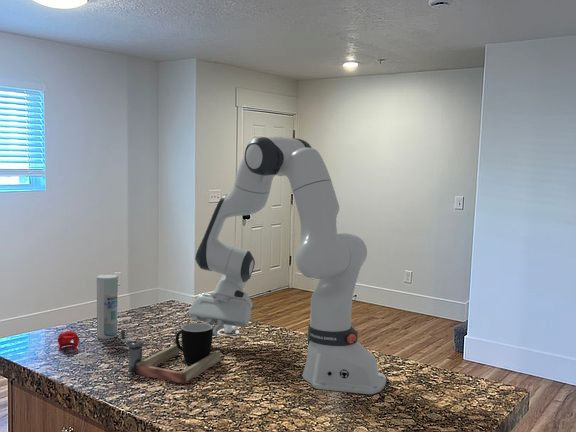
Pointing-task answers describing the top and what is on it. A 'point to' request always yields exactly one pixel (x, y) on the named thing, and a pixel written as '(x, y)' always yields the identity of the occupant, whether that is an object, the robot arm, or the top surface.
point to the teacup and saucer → (228, 330)
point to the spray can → (107, 306)
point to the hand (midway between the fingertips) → (210, 334)
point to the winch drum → (133, 351)
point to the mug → (195, 341)
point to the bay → (149, 369)
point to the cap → (68, 339)
